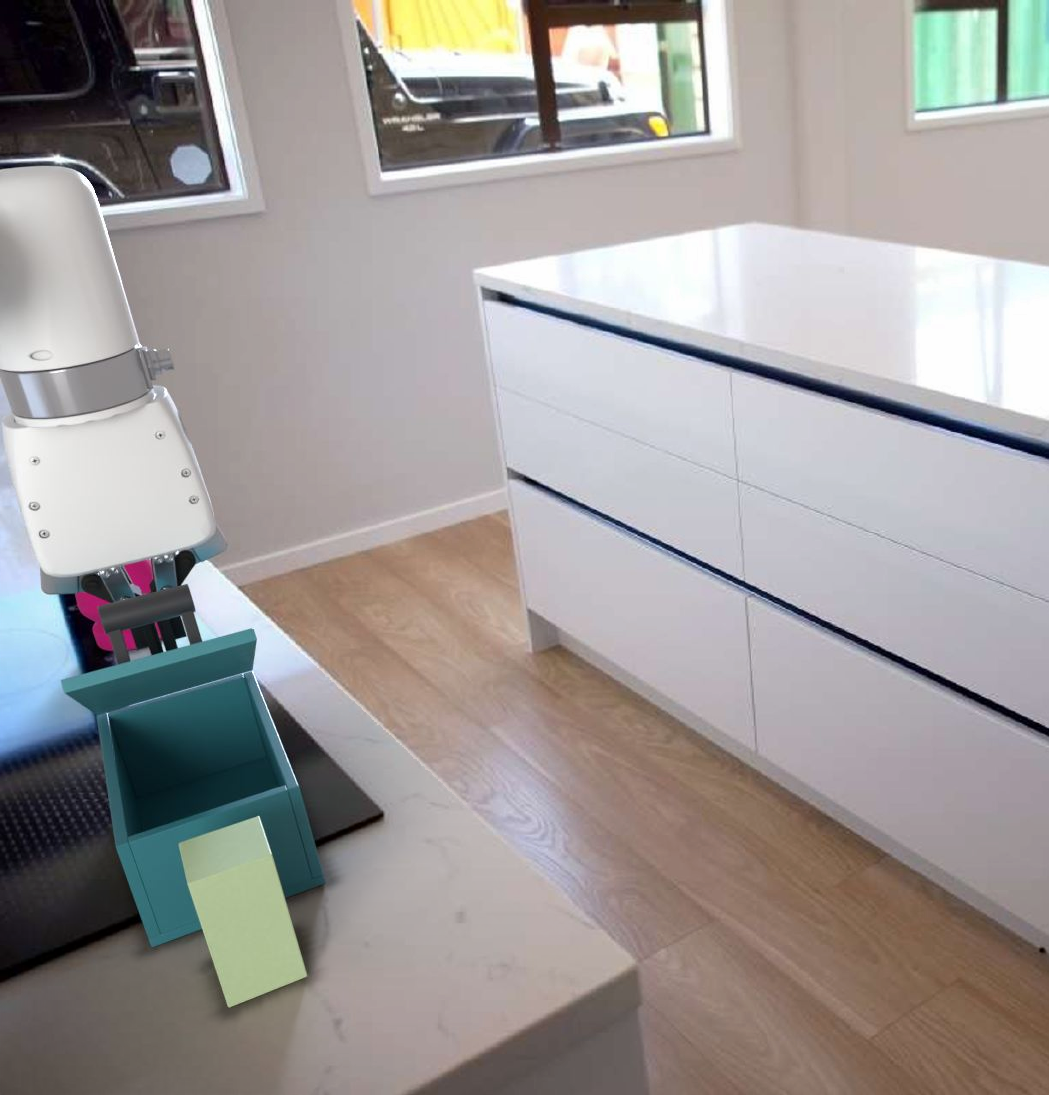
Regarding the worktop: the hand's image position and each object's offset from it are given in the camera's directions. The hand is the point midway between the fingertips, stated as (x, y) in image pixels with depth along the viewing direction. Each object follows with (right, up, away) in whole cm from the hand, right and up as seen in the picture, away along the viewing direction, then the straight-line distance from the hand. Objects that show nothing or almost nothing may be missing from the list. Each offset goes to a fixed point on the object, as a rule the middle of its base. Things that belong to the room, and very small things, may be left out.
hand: (165, 651), depth 82 cm
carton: (+10, -18, -8) cm, 22 cm away
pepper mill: (-21, -2, +34) cm, 40 cm away
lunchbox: (+2, -14, +4) cm, 14 cm away
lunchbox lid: (+1, -2, 0) cm, 2 cm away
